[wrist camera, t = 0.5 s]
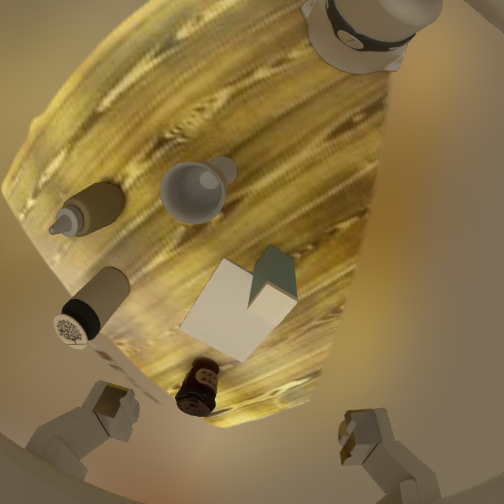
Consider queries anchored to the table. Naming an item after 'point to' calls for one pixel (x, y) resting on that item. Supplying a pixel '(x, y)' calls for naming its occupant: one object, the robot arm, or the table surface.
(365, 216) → the table surface
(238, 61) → the table surface
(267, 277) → the long block
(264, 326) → the mat
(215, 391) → the coffee cup
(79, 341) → the travel mug
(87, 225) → the squeeze bottle
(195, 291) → the table surface
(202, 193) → the chalice
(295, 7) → the table surface
